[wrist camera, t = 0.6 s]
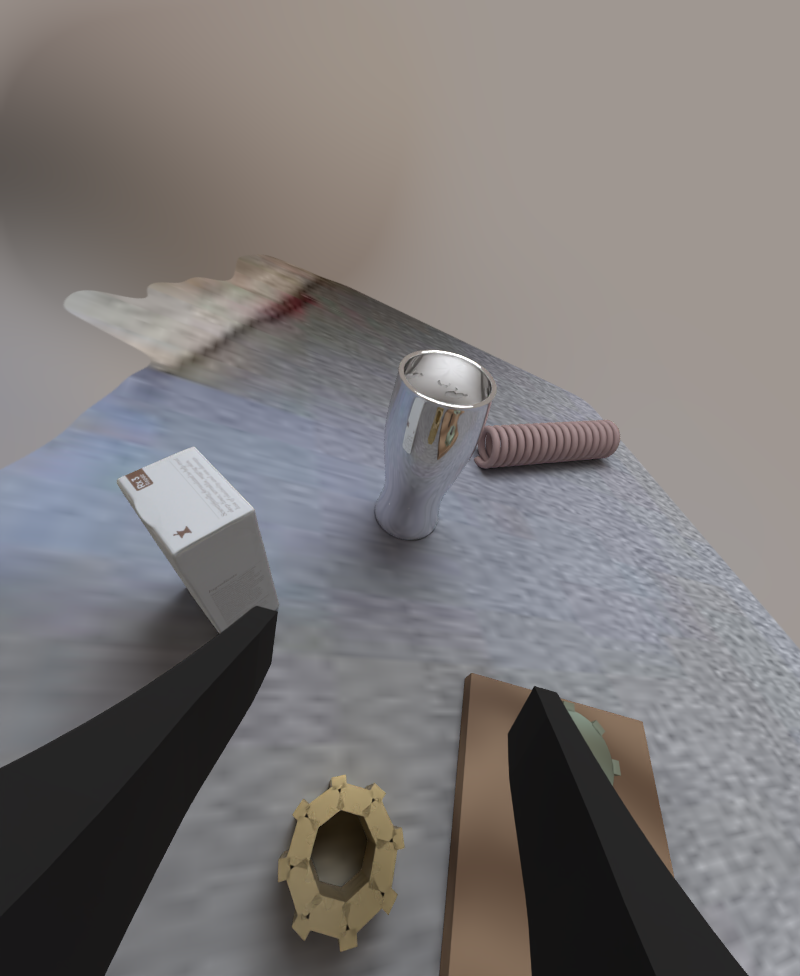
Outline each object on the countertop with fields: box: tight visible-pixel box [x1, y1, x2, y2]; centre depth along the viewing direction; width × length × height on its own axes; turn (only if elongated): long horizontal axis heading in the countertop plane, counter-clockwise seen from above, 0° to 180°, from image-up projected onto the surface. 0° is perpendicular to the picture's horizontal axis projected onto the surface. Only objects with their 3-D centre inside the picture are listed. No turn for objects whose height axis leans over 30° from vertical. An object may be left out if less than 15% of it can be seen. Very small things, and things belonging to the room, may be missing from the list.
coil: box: [474, 420, 620, 469], centre depth 43 cm, size 5×5×18 cm
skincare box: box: [117, 447, 279, 634], centre depth 23 cm, size 6×4×12 cm
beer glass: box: [375, 350, 497, 540], centre depth 29 cm, size 7×7×15 cm
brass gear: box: [278, 775, 404, 952], centre depth 18 cm, size 5×5×4 cm
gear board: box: [439, 673, 674, 976], centre depth 17 cm, size 20×12×6 cm, turn 168°
